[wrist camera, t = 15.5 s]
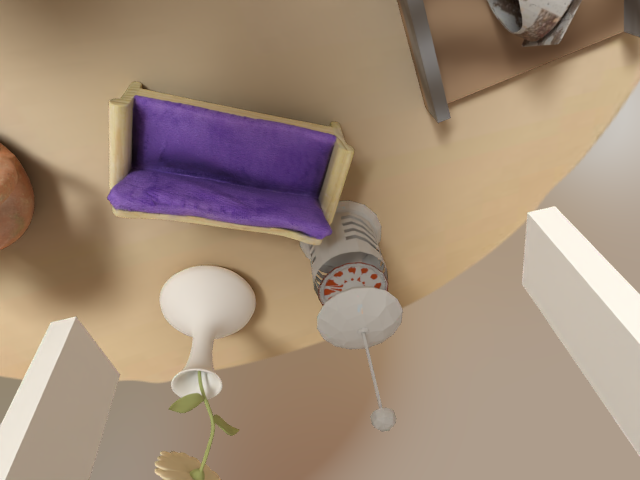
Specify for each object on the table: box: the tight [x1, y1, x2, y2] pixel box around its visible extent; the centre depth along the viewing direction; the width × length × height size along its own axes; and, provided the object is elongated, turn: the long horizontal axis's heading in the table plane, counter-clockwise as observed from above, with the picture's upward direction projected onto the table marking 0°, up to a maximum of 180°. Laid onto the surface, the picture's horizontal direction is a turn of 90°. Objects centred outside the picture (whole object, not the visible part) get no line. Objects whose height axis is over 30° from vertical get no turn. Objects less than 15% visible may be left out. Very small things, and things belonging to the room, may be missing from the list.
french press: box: [300, 200, 403, 431], centre depth 45 cm, size 10×12×25 cm
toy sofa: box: [107, 82, 354, 245], centre depth 43 cm, size 21×9×10 cm, turn 76°
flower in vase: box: [155, 265, 256, 480], centre depth 48 cm, size 13×11×25 cm
